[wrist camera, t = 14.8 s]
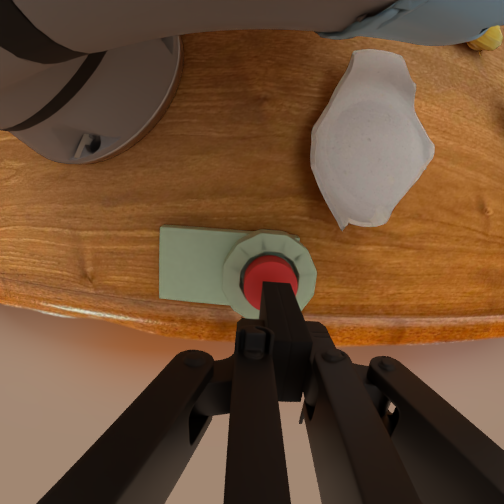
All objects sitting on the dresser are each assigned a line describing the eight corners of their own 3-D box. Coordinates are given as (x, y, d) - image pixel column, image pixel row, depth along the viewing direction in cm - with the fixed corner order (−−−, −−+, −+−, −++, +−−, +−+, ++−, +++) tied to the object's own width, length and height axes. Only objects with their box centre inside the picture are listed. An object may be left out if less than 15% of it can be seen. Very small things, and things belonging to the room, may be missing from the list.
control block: (163, 297, 24) (152, 312, 21) (164, 219, 23) (152, 224, 20) (302, 309, 24) (308, 325, 21) (313, 231, 23) (322, 238, 20)
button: (242, 300, 21) (241, 311, 20) (246, 252, 21) (245, 259, 19) (291, 304, 21) (294, 314, 20) (297, 256, 21) (301, 263, 19)
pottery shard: (333, 238, 23) (353, 253, 18) (261, 108, 21) (263, 89, 16) (434, 180, 22) (470, 181, 17) (372, 59, 20) (397, 36, 15)
